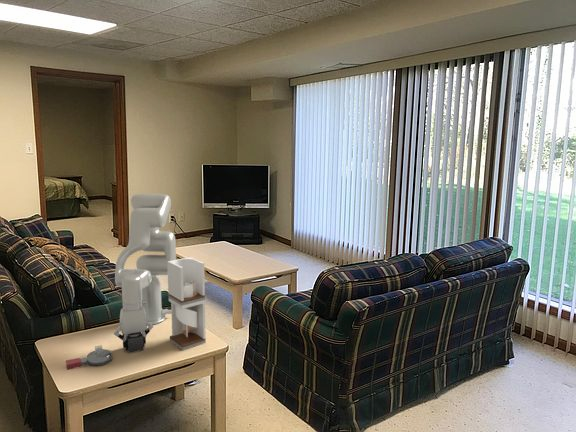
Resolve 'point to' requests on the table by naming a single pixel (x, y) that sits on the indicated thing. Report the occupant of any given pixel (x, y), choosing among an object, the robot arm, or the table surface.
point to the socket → (135, 342)
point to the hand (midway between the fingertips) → (134, 346)
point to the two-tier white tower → (187, 302)
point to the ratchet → (91, 359)
